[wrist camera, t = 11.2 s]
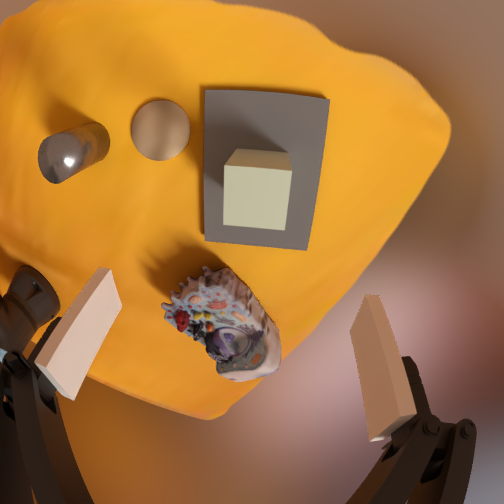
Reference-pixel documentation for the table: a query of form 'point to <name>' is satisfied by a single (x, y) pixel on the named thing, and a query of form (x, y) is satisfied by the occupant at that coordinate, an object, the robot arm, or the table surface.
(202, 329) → the cell model
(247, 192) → the sage block
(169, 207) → the table surface
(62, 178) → the dark tin
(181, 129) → the cork coaster
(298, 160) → the slate board
